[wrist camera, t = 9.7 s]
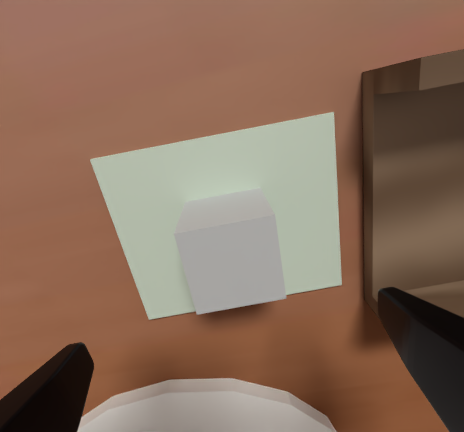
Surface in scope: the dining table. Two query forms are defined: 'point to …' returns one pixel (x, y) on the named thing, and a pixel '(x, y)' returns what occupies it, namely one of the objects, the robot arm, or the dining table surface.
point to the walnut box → (415, 180)
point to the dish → (205, 409)
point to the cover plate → (221, 170)
